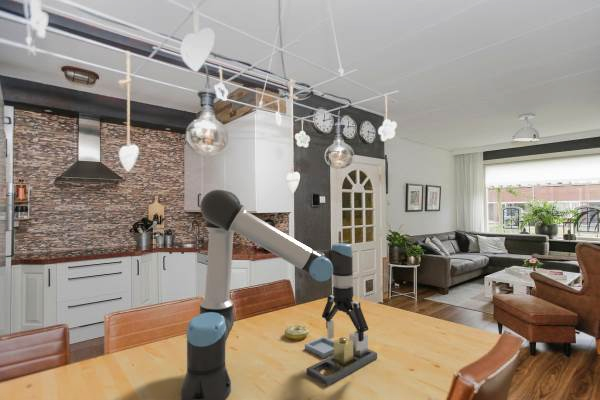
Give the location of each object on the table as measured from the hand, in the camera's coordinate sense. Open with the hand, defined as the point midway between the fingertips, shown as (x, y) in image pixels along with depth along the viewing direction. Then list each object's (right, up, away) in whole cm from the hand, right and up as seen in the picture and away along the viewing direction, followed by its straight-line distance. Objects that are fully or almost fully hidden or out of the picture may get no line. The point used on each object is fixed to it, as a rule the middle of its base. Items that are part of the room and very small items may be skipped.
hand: (344, 343), depth 114 cm
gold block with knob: (0, -8, 0) cm, 8 cm away
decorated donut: (-18, -9, +26) cm, 33 cm away
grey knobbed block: (+6, -8, +6) cm, 12 cm away
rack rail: (0, -8, 0) cm, 8 cm away
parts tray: (-7, -8, +13) cm, 17 cm away
